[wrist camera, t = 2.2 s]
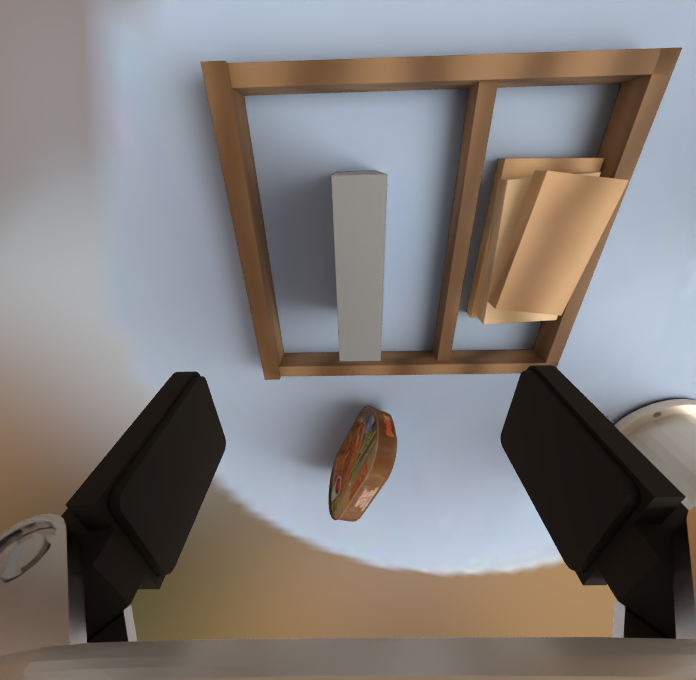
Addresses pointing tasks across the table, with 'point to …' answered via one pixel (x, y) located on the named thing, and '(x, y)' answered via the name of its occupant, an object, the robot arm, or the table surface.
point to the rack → (482, 80)
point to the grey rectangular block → (359, 261)
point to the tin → (362, 464)
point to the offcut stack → (539, 236)
